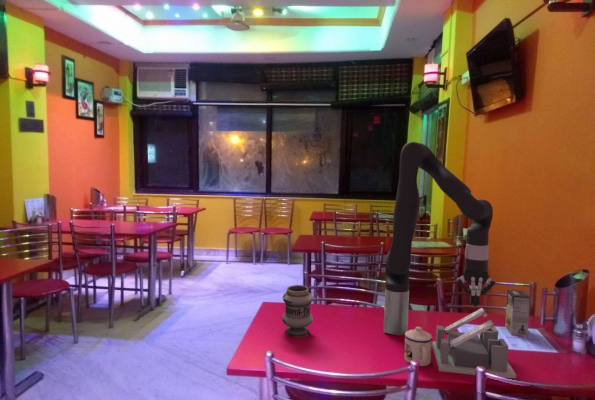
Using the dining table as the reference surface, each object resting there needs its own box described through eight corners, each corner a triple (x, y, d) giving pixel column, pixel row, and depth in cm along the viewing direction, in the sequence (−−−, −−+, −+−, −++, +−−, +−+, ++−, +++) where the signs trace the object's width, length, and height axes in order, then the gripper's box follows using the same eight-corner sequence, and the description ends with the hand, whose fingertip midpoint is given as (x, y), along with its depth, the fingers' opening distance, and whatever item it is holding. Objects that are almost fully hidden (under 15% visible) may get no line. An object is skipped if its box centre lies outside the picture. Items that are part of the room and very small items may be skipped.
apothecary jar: (276, 335, 162) (277, 289, 161) (289, 324, 173) (289, 282, 172) (306, 341, 157) (307, 294, 156) (316, 329, 169) (317, 285, 167)
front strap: (452, 351, 137) (448, 345, 137) (451, 347, 140) (447, 341, 140) (496, 328, 134) (492, 322, 134) (493, 324, 137) (490, 319, 137)
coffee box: (504, 326, 176) (506, 288, 174) (520, 327, 174) (523, 290, 173) (510, 335, 167) (513, 295, 165) (528, 336, 165) (530, 296, 164)
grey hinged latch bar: (447, 337, 149) (443, 331, 149) (445, 333, 152) (442, 328, 152) (487, 315, 145) (483, 310, 146) (485, 312, 149) (481, 307, 149)
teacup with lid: (400, 354, 147) (401, 322, 146) (426, 354, 148) (427, 322, 147) (410, 371, 135) (412, 336, 135) (438, 371, 136) (440, 336, 135)
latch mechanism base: (438, 370, 136) (440, 341, 135) (432, 345, 156) (433, 319, 155) (515, 379, 131) (517, 348, 131) (498, 351, 151) (500, 324, 150)
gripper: (458, 258, 144) (456, 307, 145) (499, 260, 141) (497, 310, 143) (454, 253, 151) (452, 300, 153) (494, 255, 149) (491, 303, 150)
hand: (474, 305), depth 148 cm, fingers closed
